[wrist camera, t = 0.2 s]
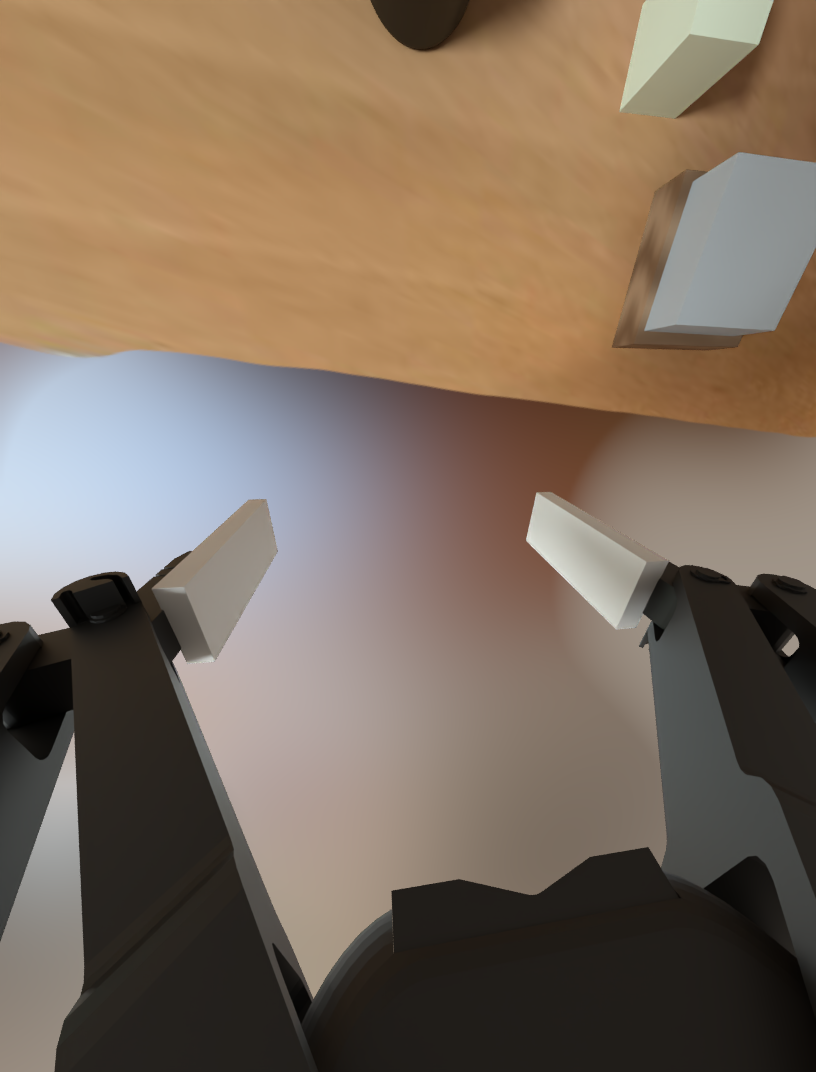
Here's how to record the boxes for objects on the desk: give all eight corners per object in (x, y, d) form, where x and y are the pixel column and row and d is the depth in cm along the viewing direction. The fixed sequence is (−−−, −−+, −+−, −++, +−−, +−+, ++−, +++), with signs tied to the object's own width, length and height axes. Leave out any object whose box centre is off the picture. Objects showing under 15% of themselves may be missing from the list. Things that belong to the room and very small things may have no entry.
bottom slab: (650, 194, 31) (686, 169, 28) (763, 204, 33) (810, 182, 29) (608, 347, 38) (633, 343, 34) (704, 350, 39) (737, 346, 36)
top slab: (692, 181, 28) (738, 152, 25) (797, 194, 30) (855, 168, 26) (644, 331, 34) (676, 324, 30) (733, 336, 35) (774, 330, 31)
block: (642, 5, 25) (730, -119, 19) (703, 15, 26) (807, -102, 20) (619, 112, 28) (689, 33, 22) (674, 119, 29) (758, 44, 22)
